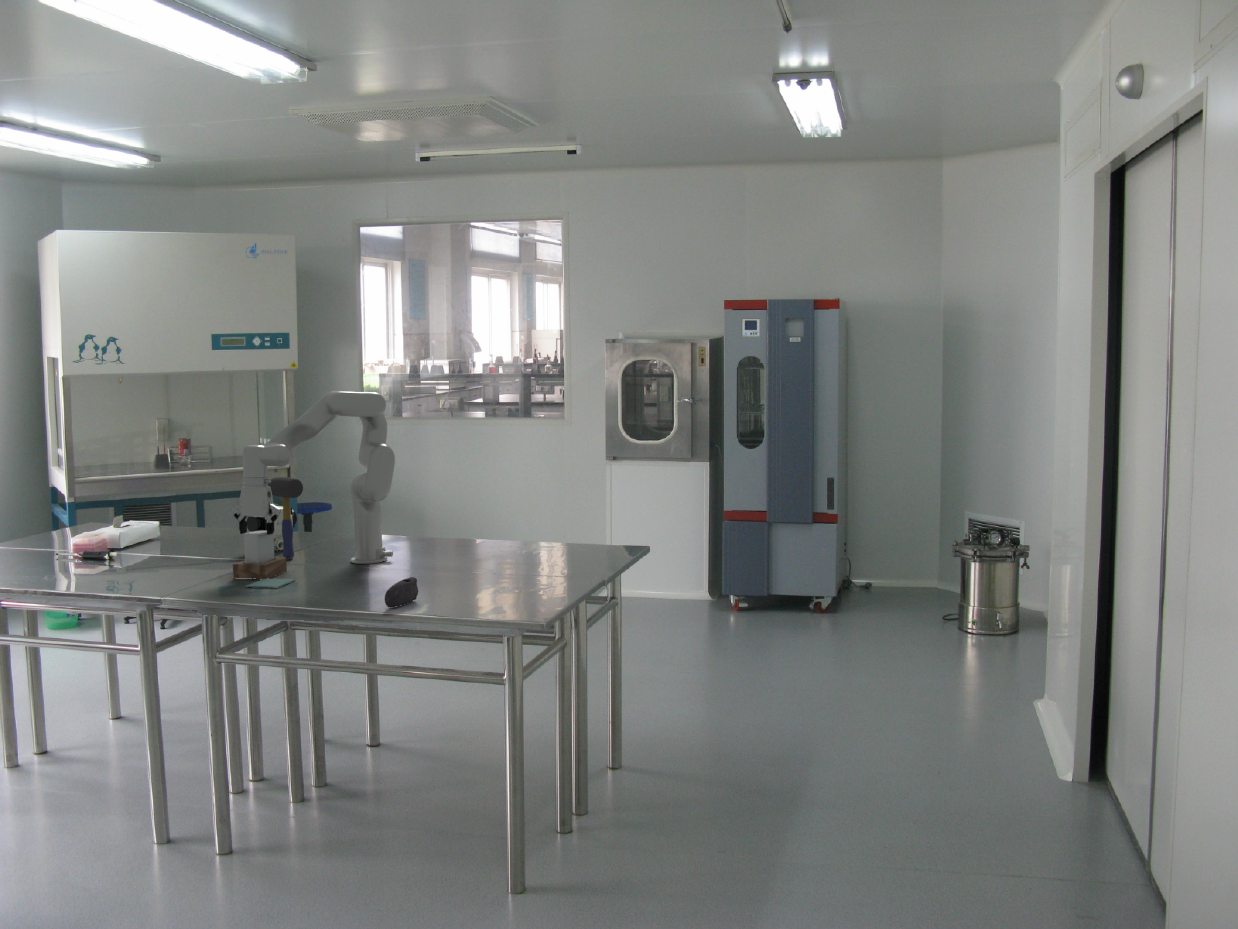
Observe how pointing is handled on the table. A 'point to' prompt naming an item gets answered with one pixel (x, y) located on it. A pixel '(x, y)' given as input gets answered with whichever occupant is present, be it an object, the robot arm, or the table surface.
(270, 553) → the skincare box
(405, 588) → the perforated stone tool
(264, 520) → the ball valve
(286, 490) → the rubber mallet
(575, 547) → the table surface
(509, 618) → the table surface
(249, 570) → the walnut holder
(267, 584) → the rubber mat
